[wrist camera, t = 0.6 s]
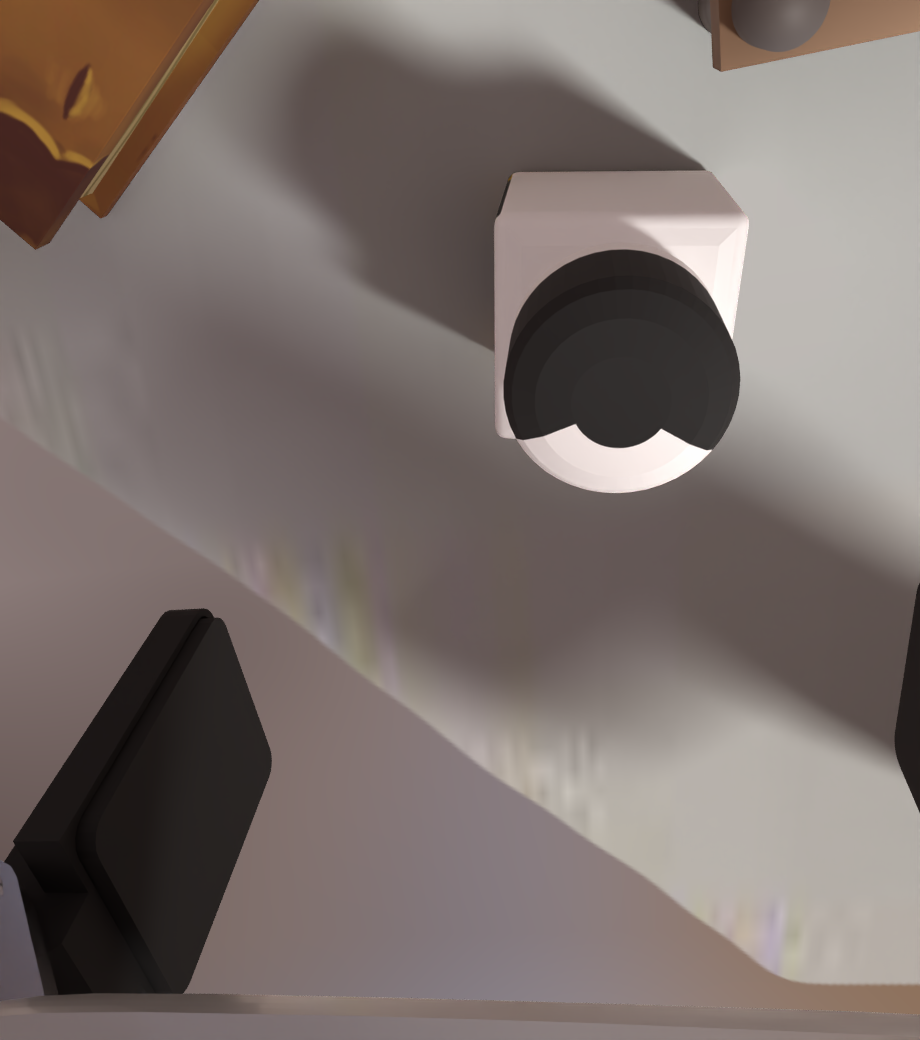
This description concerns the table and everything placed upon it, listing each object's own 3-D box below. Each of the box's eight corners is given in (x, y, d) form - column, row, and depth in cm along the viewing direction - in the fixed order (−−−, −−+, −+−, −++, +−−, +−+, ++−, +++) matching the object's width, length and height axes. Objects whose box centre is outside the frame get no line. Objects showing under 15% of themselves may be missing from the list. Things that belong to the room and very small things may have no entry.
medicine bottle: (508, 170, 30) (477, 259, 20) (715, 168, 29) (793, 260, 19) (507, 362, 34) (481, 520, 24) (691, 364, 33) (745, 528, 23)
